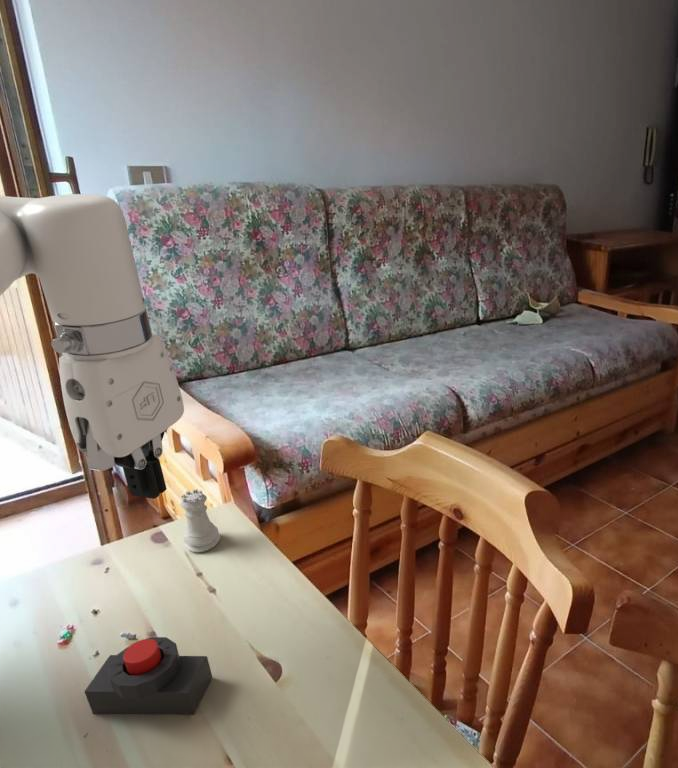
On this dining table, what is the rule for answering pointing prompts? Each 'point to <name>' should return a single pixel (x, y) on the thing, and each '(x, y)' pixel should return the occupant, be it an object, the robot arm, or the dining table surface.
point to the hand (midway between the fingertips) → (148, 492)
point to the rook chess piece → (198, 523)
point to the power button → (142, 657)
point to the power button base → (151, 684)
